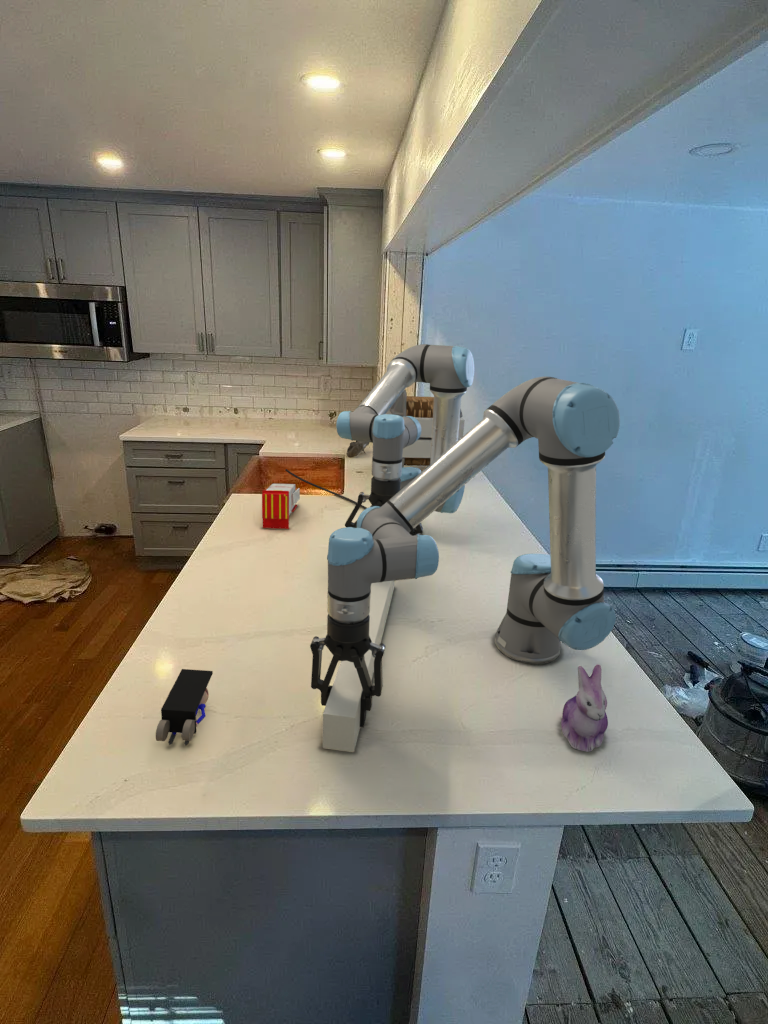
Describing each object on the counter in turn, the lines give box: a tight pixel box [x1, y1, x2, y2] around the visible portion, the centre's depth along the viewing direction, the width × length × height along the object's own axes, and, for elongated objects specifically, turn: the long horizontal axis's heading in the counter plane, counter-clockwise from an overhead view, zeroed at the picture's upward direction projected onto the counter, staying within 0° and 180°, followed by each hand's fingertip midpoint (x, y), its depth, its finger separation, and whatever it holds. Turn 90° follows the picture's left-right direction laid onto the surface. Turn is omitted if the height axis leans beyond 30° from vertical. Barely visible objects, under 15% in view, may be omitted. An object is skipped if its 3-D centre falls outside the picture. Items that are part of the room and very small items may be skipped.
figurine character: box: [155, 668, 214, 746], centre depth 105 cm, size 7×8×15 cm
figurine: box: [560, 663, 609, 753], centre depth 105 cm, size 9×10×15 cm
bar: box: [322, 581, 395, 753], centre depth 130 cm, size 64×6×8 cm, turn 173°
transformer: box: [387, 389, 465, 468], centre depth 268 cm, size 34×33×41 cm
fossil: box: [346, 441, 371, 458], centre depth 305 cm, size 22×10×15 cm
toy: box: [261, 483, 301, 530], centre depth 210 cm, size 12×13×30 cm
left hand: (382, 554), depth 150 cm, fingers open, 13 cm apart
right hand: (346, 720), depth 108 cm, fingers closed on bar, 6 cm apart
